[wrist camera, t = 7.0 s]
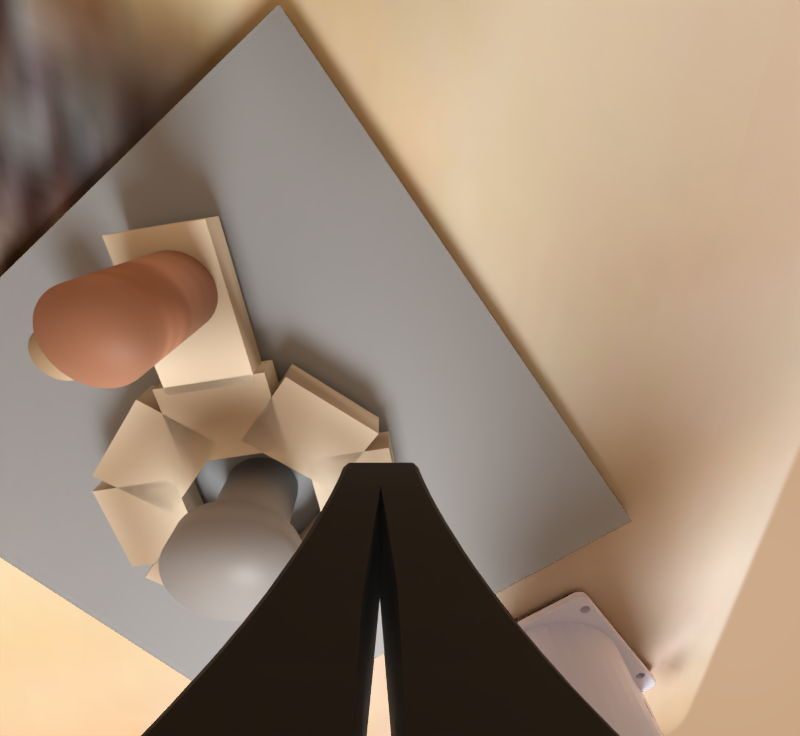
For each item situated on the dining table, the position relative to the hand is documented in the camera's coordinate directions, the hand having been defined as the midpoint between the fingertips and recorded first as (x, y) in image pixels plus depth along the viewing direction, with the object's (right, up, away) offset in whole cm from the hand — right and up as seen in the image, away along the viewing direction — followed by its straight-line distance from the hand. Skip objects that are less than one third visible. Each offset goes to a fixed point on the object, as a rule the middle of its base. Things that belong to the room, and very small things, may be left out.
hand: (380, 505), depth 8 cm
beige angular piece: (-6, 0, +9) cm, 11 cm away
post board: (-6, -2, +11) cm, 13 cm away
